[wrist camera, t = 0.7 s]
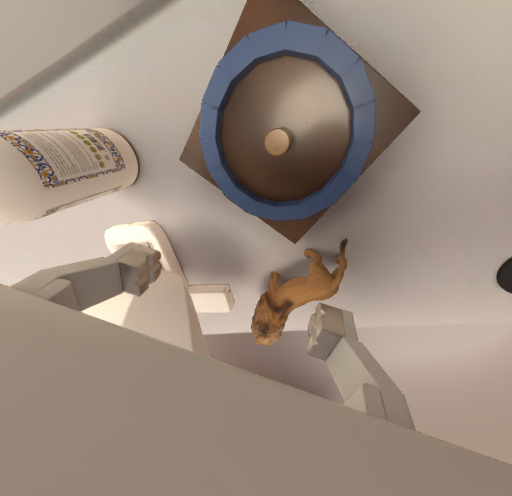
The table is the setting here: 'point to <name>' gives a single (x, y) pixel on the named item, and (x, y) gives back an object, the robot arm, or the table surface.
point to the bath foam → (60, 170)
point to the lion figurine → (295, 295)
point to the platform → (292, 120)
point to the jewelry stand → (162, 295)
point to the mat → (505, 276)
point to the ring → (303, 46)
